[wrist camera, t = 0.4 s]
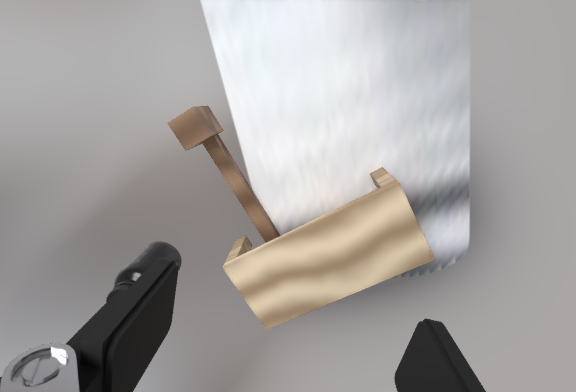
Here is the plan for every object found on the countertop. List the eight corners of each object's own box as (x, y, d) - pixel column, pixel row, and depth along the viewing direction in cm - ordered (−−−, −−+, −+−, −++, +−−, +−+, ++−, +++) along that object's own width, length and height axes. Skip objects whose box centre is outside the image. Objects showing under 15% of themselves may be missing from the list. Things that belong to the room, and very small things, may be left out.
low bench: (235, 240, 49) (222, 267, 41) (382, 167, 43) (399, 182, 36) (272, 294, 52) (266, 329, 44) (413, 232, 46) (435, 259, 39)
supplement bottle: (145, 272, 52) (100, 321, 40) (142, 238, 50) (94, 279, 38) (183, 277, 52) (149, 327, 40) (182, 242, 49) (146, 285, 38)
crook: (185, 119, 43) (167, 123, 37) (237, 87, 41) (226, 85, 35) (274, 258, 49) (270, 279, 44) (322, 236, 48) (324, 255, 42)
